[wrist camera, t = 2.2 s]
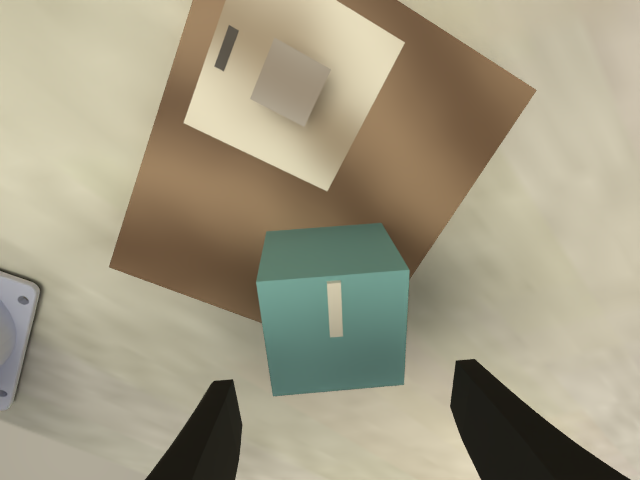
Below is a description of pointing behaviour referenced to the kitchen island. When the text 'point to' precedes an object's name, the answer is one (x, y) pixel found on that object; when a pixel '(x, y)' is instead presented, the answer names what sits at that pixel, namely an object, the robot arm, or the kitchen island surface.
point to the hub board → (307, 138)
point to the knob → (333, 308)
